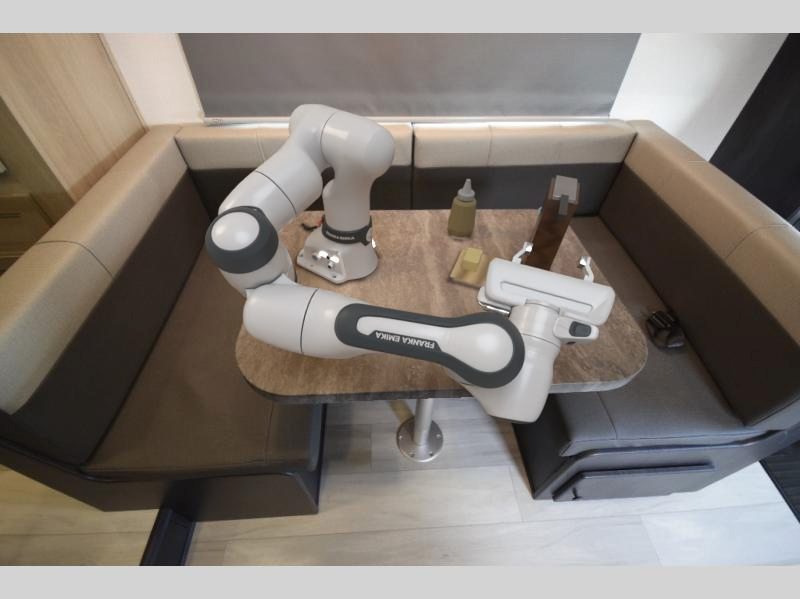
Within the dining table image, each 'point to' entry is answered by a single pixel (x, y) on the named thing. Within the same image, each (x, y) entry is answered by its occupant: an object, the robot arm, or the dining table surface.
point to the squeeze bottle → (463, 212)
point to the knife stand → (549, 231)
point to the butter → (472, 259)
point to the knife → (564, 194)
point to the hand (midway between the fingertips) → (556, 250)
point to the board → (472, 276)
